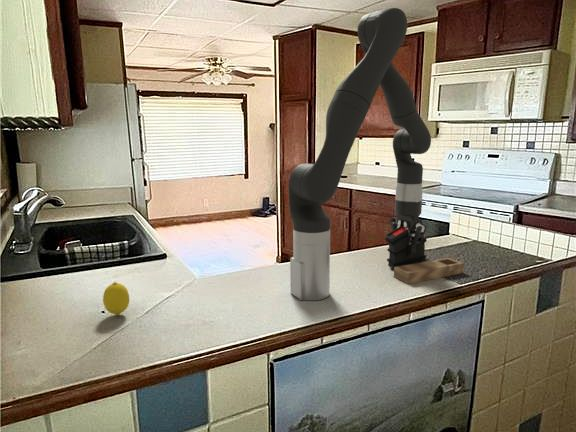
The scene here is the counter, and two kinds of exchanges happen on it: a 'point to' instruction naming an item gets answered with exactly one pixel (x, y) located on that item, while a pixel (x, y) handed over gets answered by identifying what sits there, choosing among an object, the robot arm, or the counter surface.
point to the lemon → (116, 298)
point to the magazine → (403, 248)
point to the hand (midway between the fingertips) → (405, 254)
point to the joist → (428, 270)
